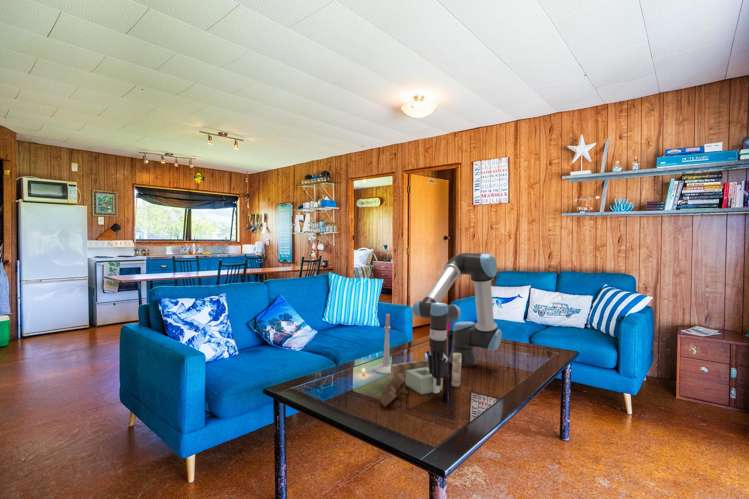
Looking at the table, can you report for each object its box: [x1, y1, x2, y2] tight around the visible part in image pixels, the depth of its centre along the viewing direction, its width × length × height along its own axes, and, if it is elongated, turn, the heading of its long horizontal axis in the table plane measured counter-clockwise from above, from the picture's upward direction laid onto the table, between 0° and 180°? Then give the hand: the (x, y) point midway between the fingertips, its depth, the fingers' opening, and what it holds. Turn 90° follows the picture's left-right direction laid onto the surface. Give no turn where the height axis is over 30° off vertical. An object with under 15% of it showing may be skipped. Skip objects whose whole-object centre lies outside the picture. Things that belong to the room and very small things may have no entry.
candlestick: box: [373, 313, 392, 375], centre depth 205 cm, size 13×13×30 cm
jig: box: [389, 358, 429, 384], centre depth 179 cm, size 22×21×10 cm
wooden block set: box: [380, 373, 409, 408], centre depth 167 cm, size 18×9×10 cm
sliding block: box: [404, 367, 444, 395], centre depth 179 cm, size 12×12×7 cm
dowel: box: [451, 353, 462, 388], centre depth 183 cm, size 4×4×16 cm
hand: (436, 392), depth 171 cm, fingers closed
